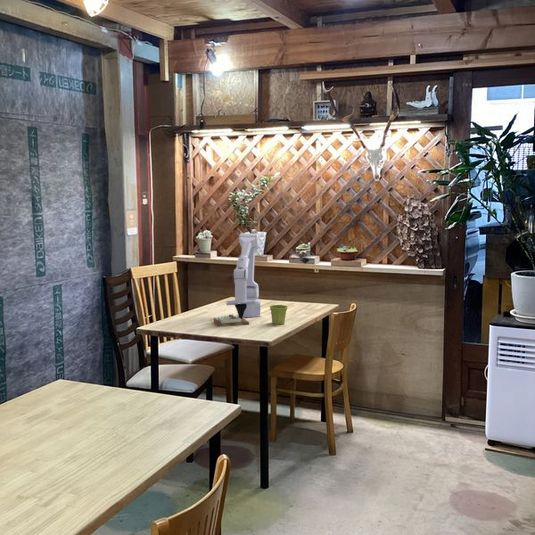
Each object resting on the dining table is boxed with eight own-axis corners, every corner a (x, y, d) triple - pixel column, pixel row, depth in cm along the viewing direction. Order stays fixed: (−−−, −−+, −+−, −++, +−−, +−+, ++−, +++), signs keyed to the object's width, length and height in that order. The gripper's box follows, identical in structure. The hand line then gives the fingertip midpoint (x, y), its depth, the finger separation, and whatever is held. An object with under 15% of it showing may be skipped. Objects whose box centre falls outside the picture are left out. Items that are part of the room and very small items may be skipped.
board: (244, 320, 314) (244, 313, 314) (249, 324, 306) (249, 316, 305) (213, 322, 310) (213, 315, 309) (217, 326, 301) (217, 318, 301)
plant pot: (290, 322, 311) (290, 305, 310) (283, 326, 303) (283, 308, 302) (273, 320, 315) (274, 304, 314) (266, 324, 307) (266, 307, 306)
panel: (236, 319, 312) (236, 315, 312) (241, 322, 305) (241, 318, 305) (217, 320, 310) (217, 316, 309) (221, 323, 302) (221, 319, 302)
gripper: (228, 293, 301) (228, 321, 303) (256, 292, 306) (256, 319, 307) (225, 291, 308) (225, 318, 310) (252, 290, 312) (252, 316, 314)
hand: (240, 318), depth 309 cm, fingers closed
